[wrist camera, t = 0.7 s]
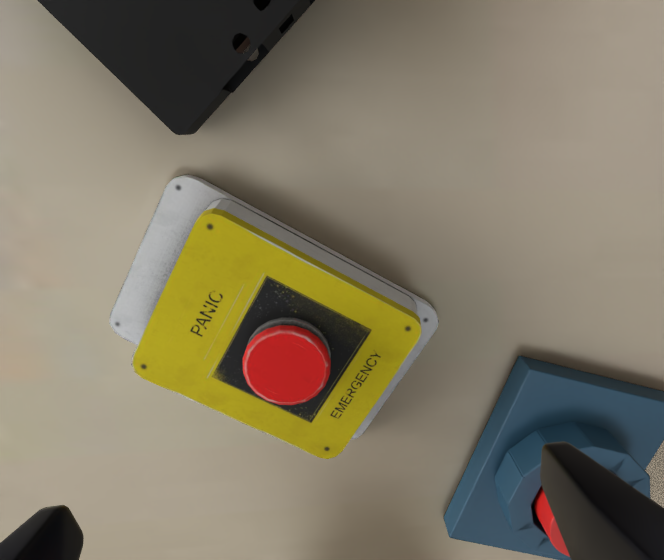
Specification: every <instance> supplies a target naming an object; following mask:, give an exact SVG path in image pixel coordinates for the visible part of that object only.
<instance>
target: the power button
mask: <svg viewBox="0 0 664 560" xmlns="http://www.w3.org/2000/svg"><path fill="white" fill-rule="evenodd" d="M534 507H535V513H536V515H537V517H538V519H539V521H540V523H541V524H542V526H543V528H544V530H545V532H546V534H547V536H548V537H549V539H550V541H551V543H552V544H553V546H554V547H555V548H556V549H557V550H558V551H559V552H561V553H562V554H564V555H566V556H569V557H570V555H569V553H568V550H567V548H566V545H565V543H564V540H563V538H562V536H561V533H560V531H559V528H558V526H557V523H556V521H555V518H554V516H553V513H552V511H551V508H550V506H549V503H548V501H547V498H546V496H545V493H544V491H543V488H542V486H541V487H540V489H539V491H538V493H537V494H536V497H535V502H534Z"/></svg>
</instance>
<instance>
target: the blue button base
mask: <svg viewBox="0 0 664 560" xmlns="http://www.w3.org/2000/svg"><path fill="white" fill-rule="evenodd" d="M663 440H664V391H660V390H656V389H652V388H648V387H644V386H640V385H636V384H632V383H628V382H624V381H619V380H615V379H611V378H607V377H603V376H599V375H595V374H591V373H587V372H583V371H579V370H575V369H571V368H567V367H563V366H559V365H555V364H551V363H547V362H543V361H539V360H535V359H531V358H527V357H523V356H518V358H517V360H516V362H515V365H514V367H513V369H512V371H511V373H510V375H509V378H508V380H507V382H506V384H505V386H504V388H503V390H502V393H501V395H500V397H499V399H498V401H497V403H496V406H495V408H494V410H493V412H492V414H491V416H490V418H489V421H488V423H487V425H486V427H485V429H484V431H483V434H482V436H481V438H480V440H479V442H478V444H477V447H476V449H475V451H474V453H473V455H472V457H471V459H470V462H469V464H468V466H467V468H466V470H465V472H464V475H463V477H462V479H461V481H460V483H459V485H458V487H457V490H456V492H455V494H454V496H453V498H452V500H451V503H450V505H449V507H448V509H447V511H446V513H445V515H444V521H445V524H446V527H447V531H448V534H449V537H450V538H454V539H459V540H464V541H468V542H473V543H478V544H483V545H488V546H493V547H498V548H503V549H508V550H513V551H518V552H523V553H528V554H533V555H538V556H543V557H548V558H553V559H558V560H571V558H570V557H569V556H566V555H564V554H562V553H561V552H559V551H558V550H557V549H556V548H555V547H554V546H553V544H552V543H551V541H550V539H549V537H548V536H547V534H546V532H545V530H544V528H543V526H542V524H541V523H540V521H539V519H538V517H537V515H536V513H535V507H534V502H535V497H536V494H537V493H538V491H539V489H540V487H541V486H542V485H541V480H540V468H541V452H542V447H543V445H544V444H546V443H553V442H561V441H565V442H568V443H570V444H572V445H573V446H575V447H576V448H577V449H579V450H580V451H582V452H583V453H585V454H586V455H588V456H589V457H590V458H592V459H593V460H595V461H596V462H598V463H599V464H601V465H602V466H603V467H605V468H606V469H608V470H609V471H611V472H612V473H614V474H615V475H616V476H618V477H619V478H621V479H622V480H624V481H625V482H627V483H628V484H629V485H631V486H632V487H634V488H635V489H637V490H638V491H640V492H641V493H643V494H644V495H645V496H647V497H648V498H650V477H649V475H648V474H647V472H646V471H645V469H646V467H647V466H648V464H649V463H650V461H651V459H652V458H653V456H654V455H655V453H656V451H657V450H658V448H659V447H660V445H661V443H662V442H663Z"/></svg>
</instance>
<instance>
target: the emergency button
mask: <svg viewBox="0 0 664 560" xmlns="http://www.w3.org/2000/svg"><path fill="white" fill-rule="evenodd" d="M438 323H439V320H438V317H437V314H436V311H435V309H434V307H433V306H431V305H430V304H429V303H428V302H427V301H426V300H424V299H422V298H420V297H418V296H416V295H415V294H413V293H411V292H409V291H407V290H405V289H404V288H402V287H400V286H398V285H396V284H394V283H393V282H391V281H389V280H387V279H385V278H383V277H382V276H380V275H378V274H376V273H374V272H372V271H370V270H369V269H367V268H365V267H363V266H361V265H359V264H358V263H356V262H354V261H352V260H350V259H348V258H347V257H345V256H343V255H341V254H339V253H337V252H336V251H334V250H332V249H330V248H328V247H326V246H325V245H323V244H321V243H319V242H317V241H315V240H313V239H312V238H310V237H308V236H306V235H304V234H302V233H301V232H299V231H297V230H295V229H293V228H291V227H290V226H288V225H286V224H284V223H282V222H280V221H279V220H277V219H275V218H273V217H271V216H269V215H268V214H266V213H264V212H262V211H260V210H258V209H256V208H255V207H253V206H251V205H249V204H247V203H245V202H244V201H242V200H240V199H238V198H236V197H234V196H233V195H231V194H229V193H227V192H225V191H223V190H222V189H220V188H218V187H216V186H214V185H212V184H210V183H209V182H207V181H205V180H203V179H201V178H199V177H195V176H192V175H189V174H188V175H183V176H178V177H176V178H173V179H172V180H171V181H170V182H169V184H168V185H167V186H166V187H165V190H164V192H163V194H162V197H161V199H160V201H159V203H158V206H157V208H156V210H155V213H154V215H153V217H152V219H151V222H150V224H149V226H148V229H147V231H146V233H145V236H144V238H143V240H142V242H141V245H140V247H139V249H138V252H137V254H136V256H135V258H134V261H133V263H132V265H131V268H130V270H129V272H128V275H127V277H126V279H125V281H124V284H123V286H122V288H121V291H120V293H119V295H118V297H117V300H116V302H115V304H114V307H113V309H112V311H111V314H110V325H111V327H112V328H113V330H114V332H115V333H116V334H118V335H119V336H121V337H122V338H123V339H125V340H127V341H130V342H132V343H134V344H136V345H137V347H136V349H135V352H134V354H133V356H132V363H131V365H132V367H133V369H134V372H135V373H136V374H138V375H139V376H140V377H141V378H143V379H145V380H148V381H150V382H152V383H154V384H156V385H159V386H161V387H163V388H165V389H168V390H170V391H172V392H174V393H177V394H179V395H181V396H183V397H185V398H188V399H190V400H192V401H194V402H197V403H199V404H201V405H203V406H205V407H208V408H210V409H212V410H214V411H217V412H219V413H221V414H223V415H226V416H228V417H230V418H232V419H234V420H237V421H239V422H241V423H243V424H246V425H248V426H250V427H252V428H255V429H257V430H259V431H261V432H263V433H266V434H268V435H270V436H272V437H275V438H277V439H279V440H281V441H284V442H286V443H288V444H290V445H292V446H295V447H297V448H299V449H301V450H304V451H306V452H308V453H310V454H312V455H315V456H317V457H319V458H325V459H329V458H333V457H336V456H337V455H338V454H340V453H341V452H342V451H343V449H344V448H345V447H346V445H347V444H348V442H349V441H350V439H356V438H358V437H359V436H360V435H362V434H363V433H364V432H365V430H366V429H367V427H368V426H369V424H370V423H371V422H372V420H373V419H374V417H375V416H376V415H377V413H378V412H379V410H380V409H381V407H382V406H383V405H384V403H385V402H386V400H387V399H388V398H389V396H390V395H391V393H392V392H393V390H394V389H395V388H396V386H397V385H398V383H399V382H400V381H401V379H402V378H403V376H404V375H405V373H406V372H407V371H408V369H409V368H410V366H411V365H412V364H413V362H414V361H415V359H416V358H417V357H418V355H419V354H420V352H421V351H422V349H423V348H424V347H425V345H426V344H427V342H428V341H429V340H430V338H431V337H432V335H433V334H434V332H435V331H436V329H437V326H438Z"/></svg>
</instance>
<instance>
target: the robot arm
mask: <svg viewBox="0 0 664 560" xmlns="http://www.w3.org/2000/svg"><path fill="white" fill-rule="evenodd" d="M540 480H541V485H542V488H543V491H544V493H545V496H546V498H547V501H548V503H549V506H550V508H551V511H552V513H553V516H554V518H555V521H556V523H557V526H558V528H559V531H560V533H561V536H562V538H563V540H564V543H565V545H566V548H567V550H568V553H569V555H570V558H571V560H664V508H663V507H661V506H660V505H658V504H657V503H656V502H654V501H653V500H651V499H650V498H648V497H647V496H645V495H644V494H643V493H641V492H640V491H638V490H637V489H635V488H634V487H632V486H631V485H629V484H628V483H627V482H625V481H624V480H622V479H621V478H619V477H618V476H616V475H615V474H614V473H612V472H611V471H609V470H608V469H606V468H605V467H603V466H602V465H601V464H599V463H598V462H596V461H595V460H593V459H592V458H590V457H589V456H588V455H586V454H585V453H583V452H582V451H580V450H579V449H577V448H576V447H575V446H573V445H572V444H570V443H568V442H565V441H561V442H553V443H546V444H544V445H543V447H542V452H541V468H540ZM82 547H83V533H82V530H81V529H80V527H79V525H78V523H77V522H76V520H75V518H74V516H73V515H72V513H71V511H70V509H69V508H68V507H66V506H65V505H59V506H51V507H45V508H43V509H41V510H39V511H38V512H37V513H35V514H34V515H33V516H32V517H31V518H29V519H28V520H27V521H26V522H25V523H23V524H22V525H21V526H20V527H19V528H18V529H16V530H15V531H14V532H13V533H12V534H10V535H9V536H8V537H7V538H6V539H4V540H3V541H2V542H1V543H0V560H79V557H80V554H81V550H82Z"/></svg>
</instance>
